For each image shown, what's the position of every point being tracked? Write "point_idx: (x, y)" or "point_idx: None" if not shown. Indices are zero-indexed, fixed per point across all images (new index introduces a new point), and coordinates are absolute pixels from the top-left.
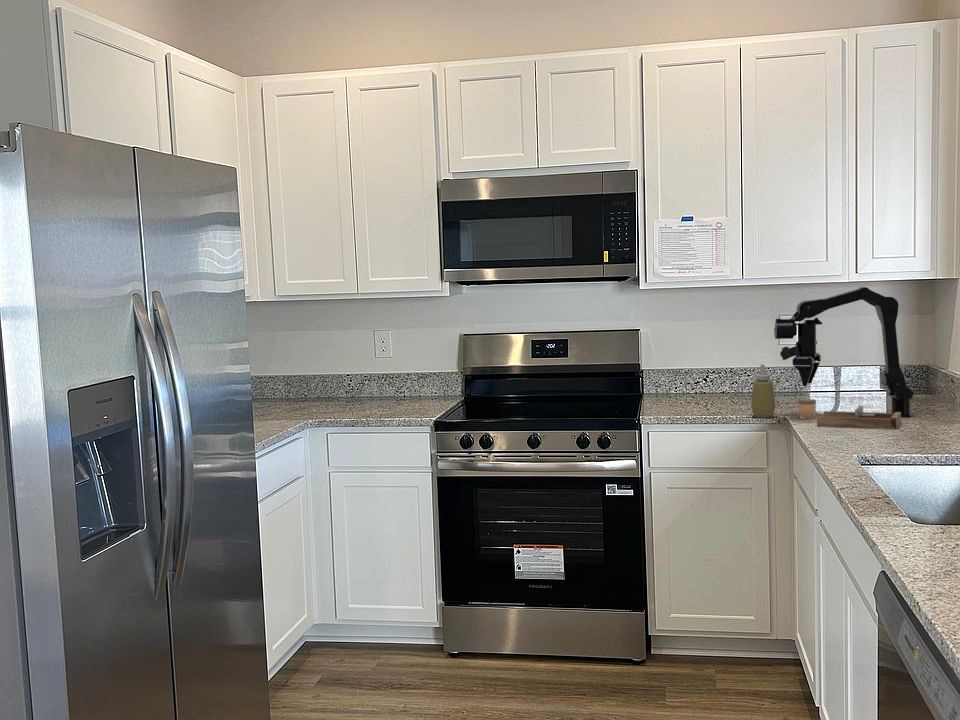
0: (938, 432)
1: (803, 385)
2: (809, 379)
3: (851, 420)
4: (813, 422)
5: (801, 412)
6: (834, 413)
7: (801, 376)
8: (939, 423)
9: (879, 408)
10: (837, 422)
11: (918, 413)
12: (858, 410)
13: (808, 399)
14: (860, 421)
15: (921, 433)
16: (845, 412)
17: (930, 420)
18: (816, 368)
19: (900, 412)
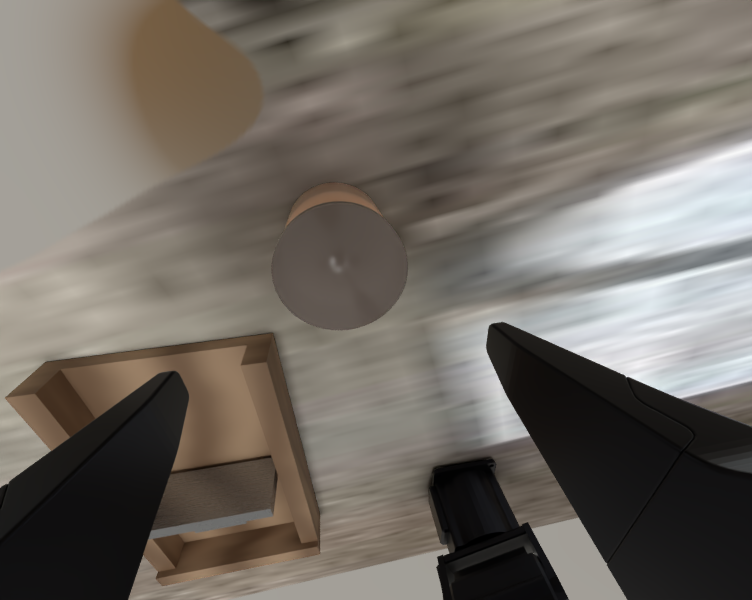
0: (186, 595)
1: (159, 380)
2: (509, 365)
3: None
4: (175, 309)
5: (286, 223)
6: (255, 399)
7: (15, 495)
8: (347, 558)
9: None
10: None
11: (531, 488)
12: None
13: (386, 272)
14: None
15: (142, 585)
16: (267, 438)
17: (396, 536)
18: (610, 564)
19: (305, 556)
